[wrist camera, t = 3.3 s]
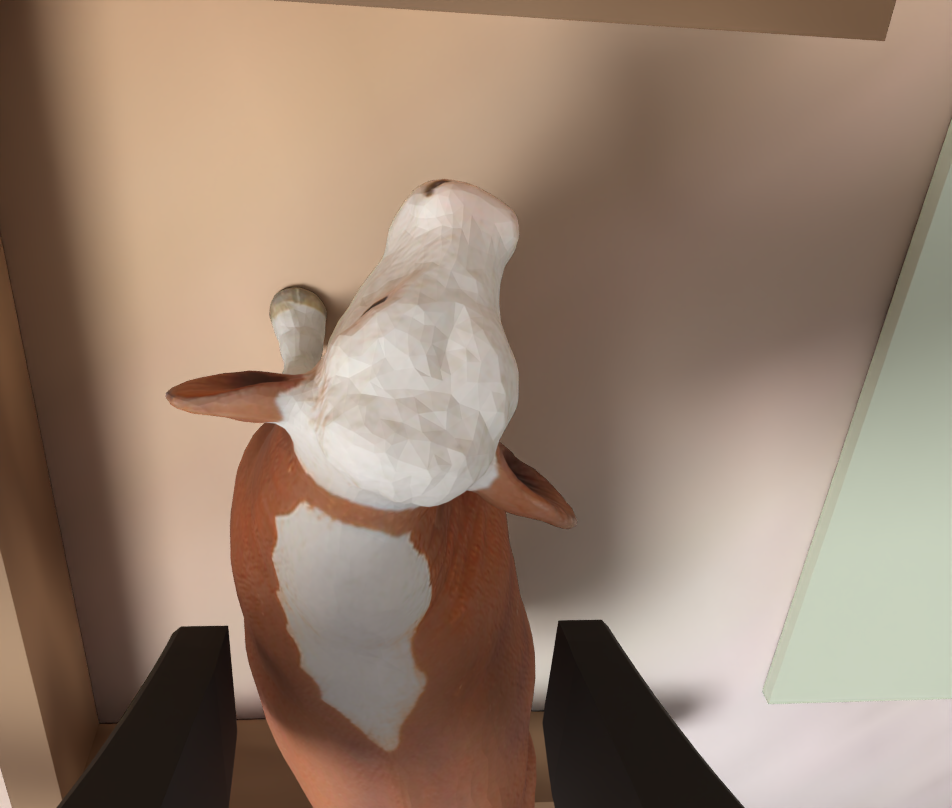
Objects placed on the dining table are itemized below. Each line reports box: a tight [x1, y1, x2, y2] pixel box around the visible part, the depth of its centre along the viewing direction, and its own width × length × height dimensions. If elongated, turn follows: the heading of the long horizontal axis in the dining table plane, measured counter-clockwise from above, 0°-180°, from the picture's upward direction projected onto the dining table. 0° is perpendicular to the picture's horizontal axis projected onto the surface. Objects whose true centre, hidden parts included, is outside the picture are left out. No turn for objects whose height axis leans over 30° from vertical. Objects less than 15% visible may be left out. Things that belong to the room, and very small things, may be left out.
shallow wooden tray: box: [0, 0, 896, 808], centre depth 16 cm, size 18×14×2 cm
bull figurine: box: [165, 179, 577, 808], centre depth 14 cm, size 4×14×8 cm, turn 1°
